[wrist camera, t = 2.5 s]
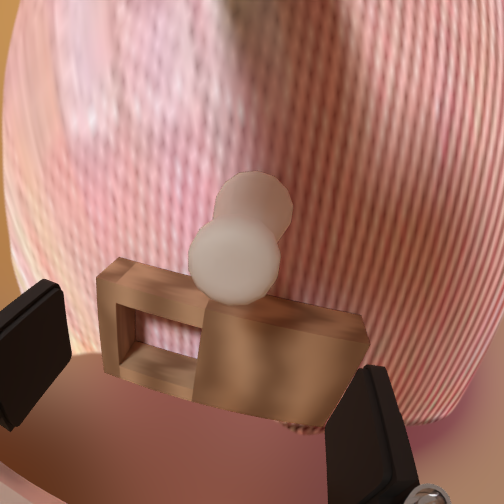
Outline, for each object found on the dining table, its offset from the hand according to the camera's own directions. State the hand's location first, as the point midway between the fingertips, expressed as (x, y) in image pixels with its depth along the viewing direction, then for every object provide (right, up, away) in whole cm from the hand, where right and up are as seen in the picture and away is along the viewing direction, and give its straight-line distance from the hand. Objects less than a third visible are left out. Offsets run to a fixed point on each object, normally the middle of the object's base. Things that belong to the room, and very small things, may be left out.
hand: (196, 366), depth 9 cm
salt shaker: (+2, +7, +17) cm, 19 cm away
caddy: (-1, -5, +22) cm, 23 cm away
